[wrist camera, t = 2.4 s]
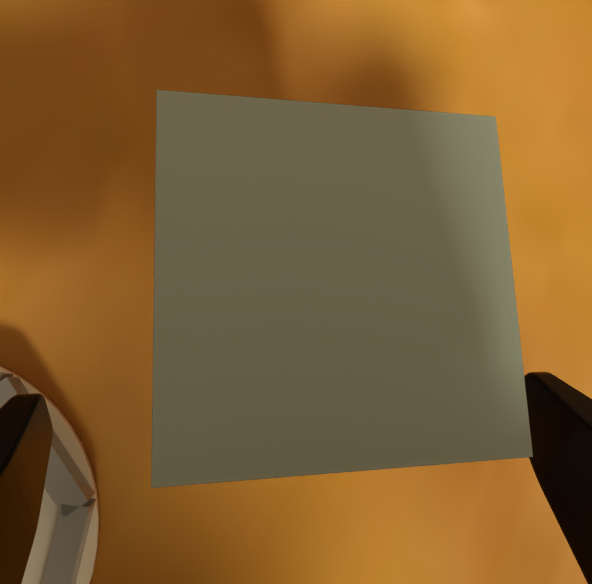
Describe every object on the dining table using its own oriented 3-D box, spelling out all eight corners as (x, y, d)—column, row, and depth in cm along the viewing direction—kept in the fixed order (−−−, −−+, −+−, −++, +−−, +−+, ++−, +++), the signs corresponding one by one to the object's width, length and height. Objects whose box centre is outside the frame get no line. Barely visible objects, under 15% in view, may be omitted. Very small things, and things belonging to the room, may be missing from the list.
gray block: (318, 402, 18) (532, 456, 6) (184, 409, 17) (152, 487, 5) (313, 273, 19) (495, 116, 7) (184, 272, 18) (156, 89, 6)
